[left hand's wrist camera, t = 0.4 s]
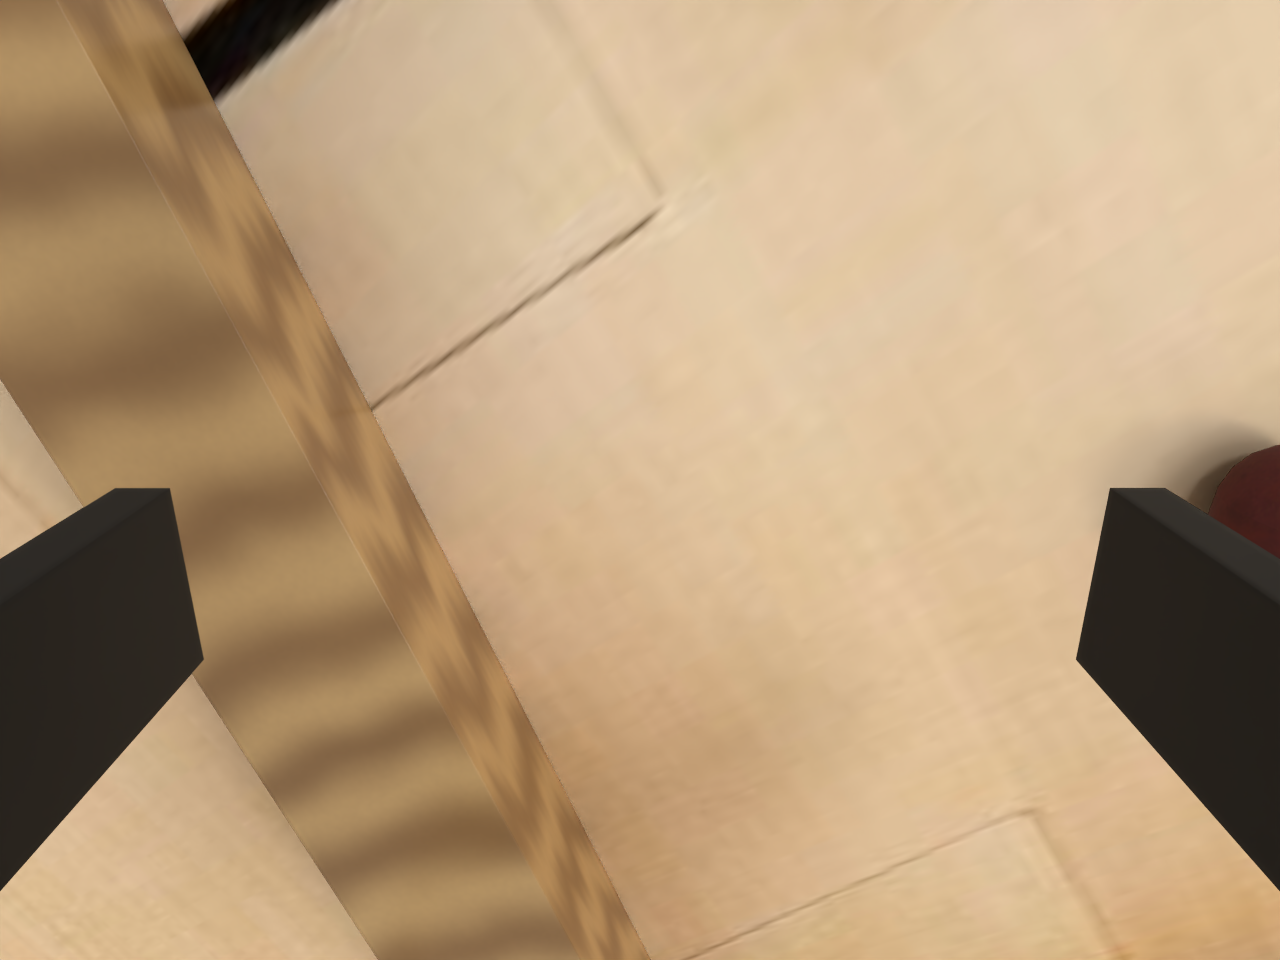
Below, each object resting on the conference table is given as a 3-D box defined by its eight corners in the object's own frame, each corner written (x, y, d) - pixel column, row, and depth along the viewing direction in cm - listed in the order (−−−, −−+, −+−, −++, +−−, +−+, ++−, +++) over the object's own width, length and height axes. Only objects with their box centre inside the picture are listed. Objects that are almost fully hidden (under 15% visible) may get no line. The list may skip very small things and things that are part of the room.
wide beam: (-276, -329, 30) (-563, -484, 23) (-65, -448, 29) (-297, -650, 22) (569, 1096, 54) (559, 1239, 47) (701, 1060, 53) (711, 1200, 46)
